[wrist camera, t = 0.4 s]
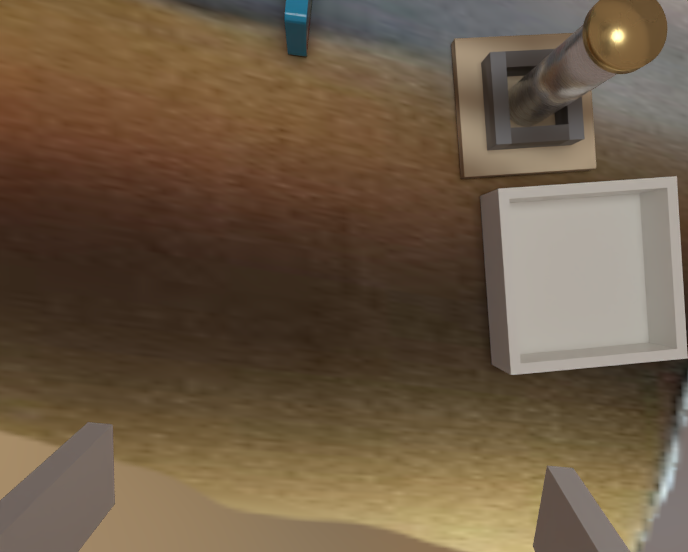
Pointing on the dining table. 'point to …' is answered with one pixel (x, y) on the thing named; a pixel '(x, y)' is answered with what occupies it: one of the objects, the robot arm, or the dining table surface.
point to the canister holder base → (494, 116)
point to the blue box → (297, 26)
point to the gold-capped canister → (590, 57)
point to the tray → (584, 275)
